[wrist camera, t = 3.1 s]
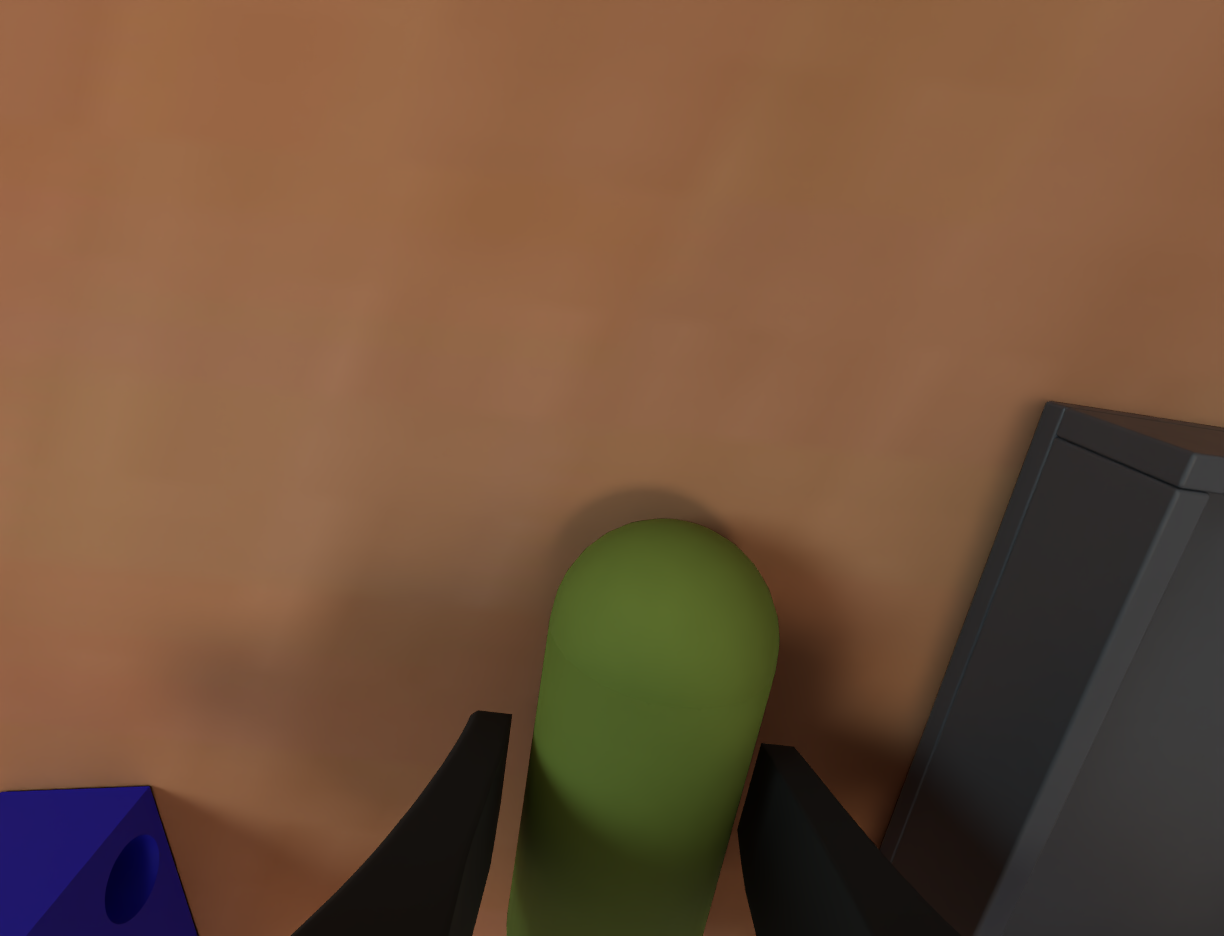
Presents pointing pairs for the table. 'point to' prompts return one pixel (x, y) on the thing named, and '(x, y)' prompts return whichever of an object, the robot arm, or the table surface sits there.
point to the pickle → (642, 733)
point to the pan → (1084, 698)
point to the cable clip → (87, 865)
